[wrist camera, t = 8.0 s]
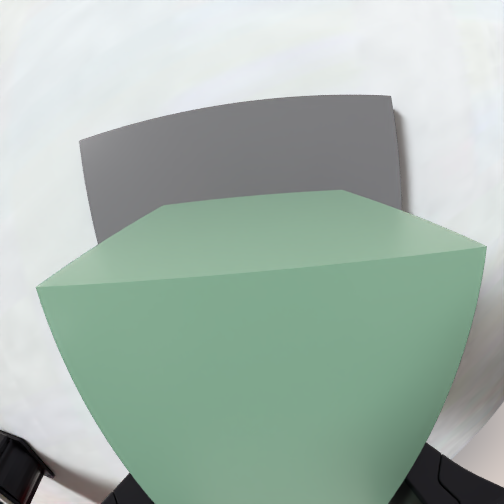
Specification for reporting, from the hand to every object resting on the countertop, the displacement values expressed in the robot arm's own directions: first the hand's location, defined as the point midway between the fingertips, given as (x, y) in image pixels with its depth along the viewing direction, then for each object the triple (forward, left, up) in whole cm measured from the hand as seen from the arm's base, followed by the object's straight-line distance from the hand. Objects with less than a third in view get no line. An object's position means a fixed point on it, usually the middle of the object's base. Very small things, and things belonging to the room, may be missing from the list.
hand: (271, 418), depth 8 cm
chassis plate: (0, 0, -6) cm, 6 cm away
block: (0, 0, -1) cm, 1 cm away
